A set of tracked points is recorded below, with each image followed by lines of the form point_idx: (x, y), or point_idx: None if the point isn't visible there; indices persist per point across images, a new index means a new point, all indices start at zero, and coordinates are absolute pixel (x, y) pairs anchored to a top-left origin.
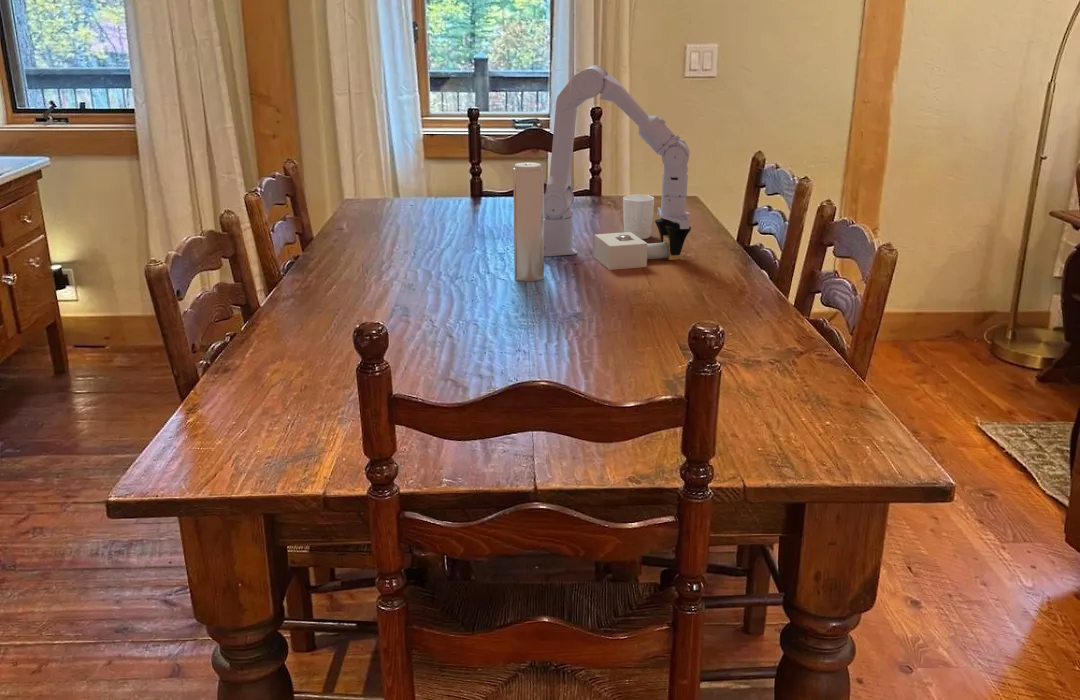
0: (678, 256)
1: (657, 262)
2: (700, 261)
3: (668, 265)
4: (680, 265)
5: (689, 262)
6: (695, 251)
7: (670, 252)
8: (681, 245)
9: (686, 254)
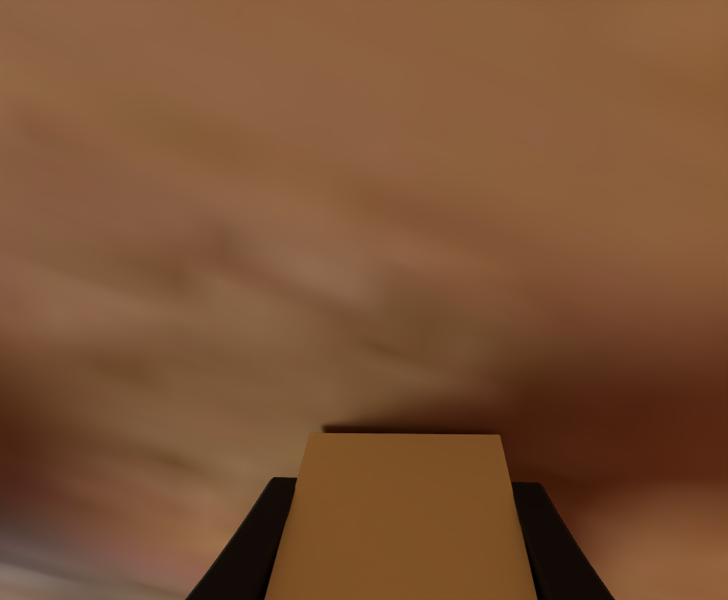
0: (502, 462)
1: None
2: (642, 245)
3: (624, 547)
4: (677, 475)
5: (621, 371)
6: (173, 132)
7: None
8: (597, 595)
9: (300, 288)
